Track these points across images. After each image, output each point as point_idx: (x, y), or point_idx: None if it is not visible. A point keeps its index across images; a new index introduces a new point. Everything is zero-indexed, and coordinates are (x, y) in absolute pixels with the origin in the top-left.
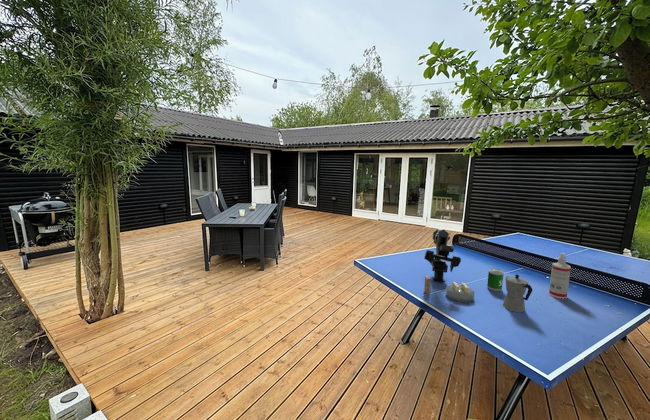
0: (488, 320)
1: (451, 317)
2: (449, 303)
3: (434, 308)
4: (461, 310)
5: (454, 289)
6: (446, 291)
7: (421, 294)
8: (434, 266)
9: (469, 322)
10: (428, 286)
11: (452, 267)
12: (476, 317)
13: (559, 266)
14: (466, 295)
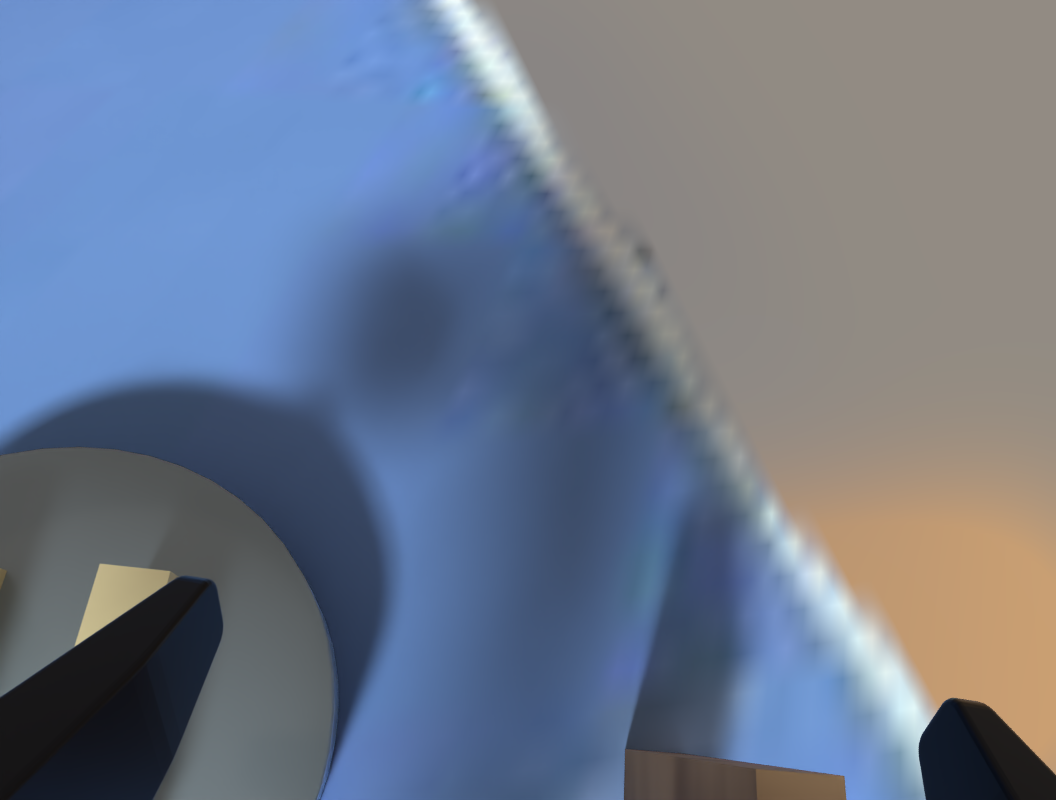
0: (123, 75)
1: (524, 138)
2: (409, 443)
3: (657, 306)
4: (330, 268)
5: None
6: (330, 750)
7: (762, 723)
8: (966, 718)
9: (374, 57)
10: (713, 759)
11: (22, 715)
12: (230, 129)
13: None
14: (67, 448)
